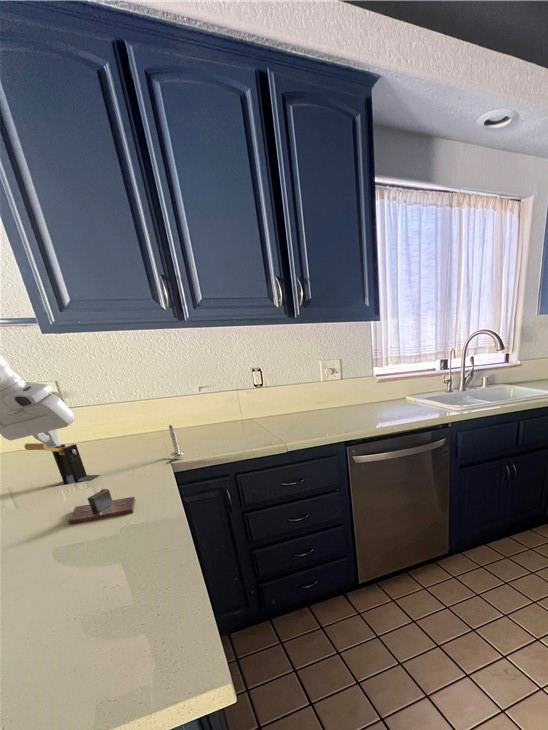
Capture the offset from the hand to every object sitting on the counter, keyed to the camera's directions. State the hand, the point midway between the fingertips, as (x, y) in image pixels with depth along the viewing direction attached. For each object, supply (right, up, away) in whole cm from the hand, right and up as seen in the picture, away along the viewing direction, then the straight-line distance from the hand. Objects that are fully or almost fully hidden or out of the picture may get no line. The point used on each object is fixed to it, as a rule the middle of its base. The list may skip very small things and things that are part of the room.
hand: (56, 446), depth 111 cm
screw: (+7, +3, +51) cm, 52 cm away
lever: (-16, +1, +19) cm, 25 cm away
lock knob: (+11, -16, +1) cm, 20 cm away
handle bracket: (-15, -8, +29) cm, 33 cm away
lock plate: (+12, -19, +2) cm, 22 cm away
